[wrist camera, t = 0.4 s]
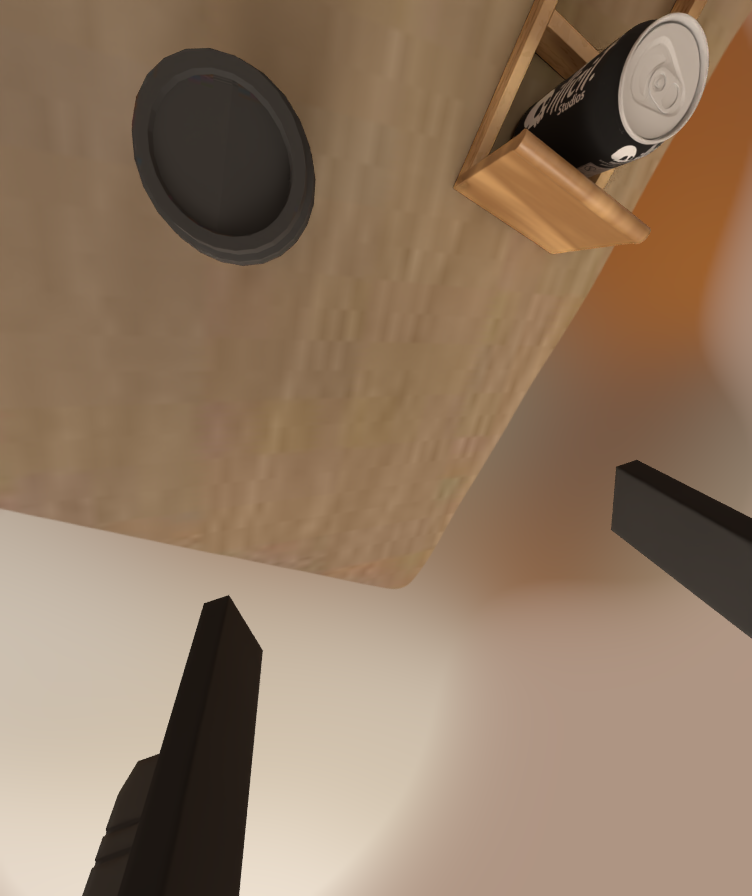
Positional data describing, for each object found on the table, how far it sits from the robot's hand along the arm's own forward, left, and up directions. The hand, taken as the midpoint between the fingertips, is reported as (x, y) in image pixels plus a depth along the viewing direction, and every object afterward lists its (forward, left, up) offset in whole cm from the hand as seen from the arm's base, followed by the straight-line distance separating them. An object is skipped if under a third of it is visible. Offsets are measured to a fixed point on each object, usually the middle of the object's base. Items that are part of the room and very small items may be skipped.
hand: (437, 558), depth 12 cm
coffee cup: (-15, -3, -27) cm, 31 cm away
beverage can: (-13, +23, -27) cm, 38 cm away
